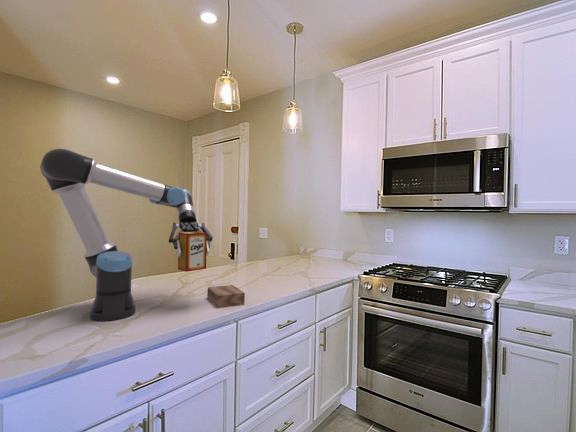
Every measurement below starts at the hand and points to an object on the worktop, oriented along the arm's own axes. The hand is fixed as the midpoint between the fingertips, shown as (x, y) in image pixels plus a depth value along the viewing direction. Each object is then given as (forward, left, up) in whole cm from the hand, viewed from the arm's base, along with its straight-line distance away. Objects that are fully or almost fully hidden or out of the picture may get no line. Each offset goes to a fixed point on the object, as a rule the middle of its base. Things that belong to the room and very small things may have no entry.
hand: (194, 253), depth 127 cm
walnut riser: (+15, +3, -22) cm, 27 cm away
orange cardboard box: (0, +3, -7) cm, 8 cm away
